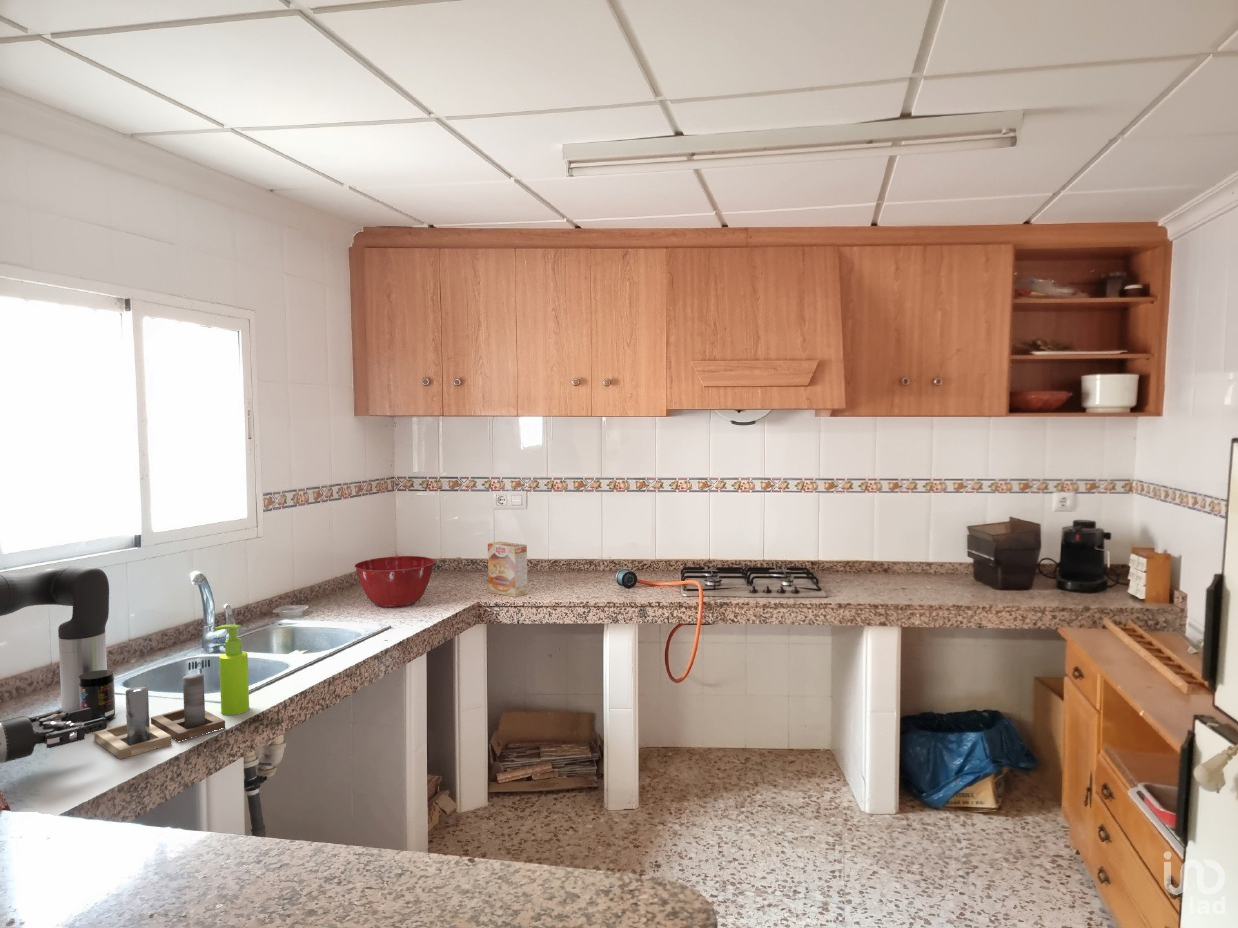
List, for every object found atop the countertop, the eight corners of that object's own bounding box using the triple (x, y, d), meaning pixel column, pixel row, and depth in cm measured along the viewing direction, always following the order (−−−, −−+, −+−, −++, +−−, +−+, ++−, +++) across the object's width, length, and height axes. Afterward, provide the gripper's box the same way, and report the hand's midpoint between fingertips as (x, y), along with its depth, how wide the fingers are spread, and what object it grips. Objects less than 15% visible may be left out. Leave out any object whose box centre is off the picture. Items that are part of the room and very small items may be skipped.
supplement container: (95, 713, 186) (93, 669, 185) (122, 714, 185) (121, 670, 185) (72, 724, 179) (70, 678, 178) (101, 725, 178) (99, 679, 178)
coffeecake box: (487, 592, 316) (486, 543, 315) (500, 589, 321) (500, 540, 320) (515, 597, 307) (514, 546, 306) (528, 594, 312) (527, 544, 311)
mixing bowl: (400, 616, 278) (399, 571, 277) (338, 608, 290) (337, 565, 290) (450, 599, 304) (450, 558, 303) (391, 593, 316) (390, 553, 315)
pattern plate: (151, 725, 178) (149, 671, 178) (195, 713, 186) (194, 661, 185) (179, 741, 169) (177, 685, 168) (225, 728, 176) (223, 674, 176)
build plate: (94, 740, 170) (94, 731, 170) (143, 727, 177) (143, 718, 177) (120, 758, 160) (120, 750, 160) (171, 744, 168) (171, 735, 168)
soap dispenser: (225, 705, 190) (222, 622, 189) (253, 706, 190) (251, 622, 189) (211, 714, 185) (208, 628, 183) (241, 715, 184) (238, 628, 183)
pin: (124, 747, 166) (122, 690, 166) (145, 741, 169) (143, 685, 169) (132, 752, 164) (129, 694, 163) (153, 746, 167) (151, 689, 166)
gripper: (8, 731, 143) (111, 706, 156) (-13, 713, 153) (85, 691, 165) (10, 773, 144) (112, 745, 156) (-11, 752, 153) (87, 727, 165)
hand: (98, 717), depth 161 cm, fingers open, 8 cm apart
